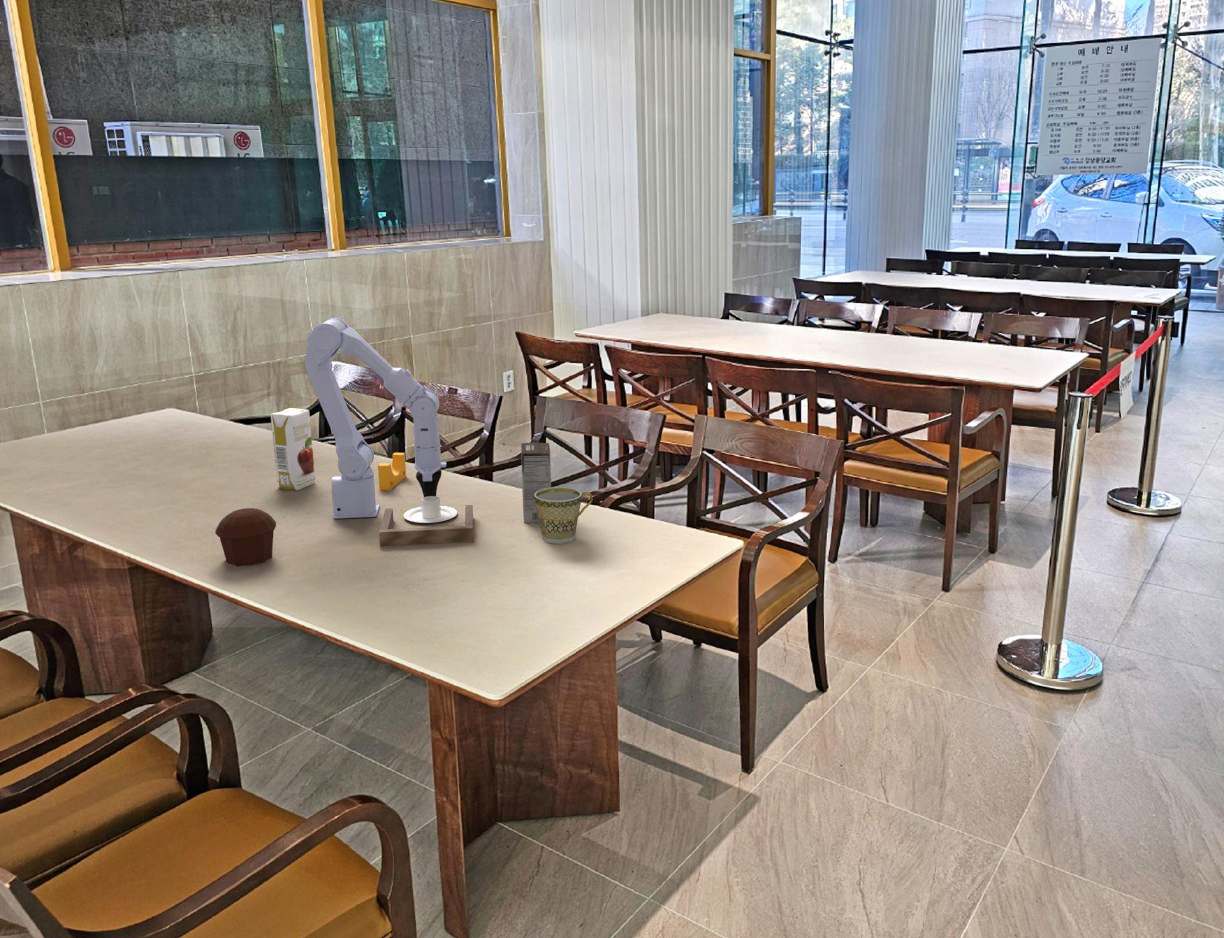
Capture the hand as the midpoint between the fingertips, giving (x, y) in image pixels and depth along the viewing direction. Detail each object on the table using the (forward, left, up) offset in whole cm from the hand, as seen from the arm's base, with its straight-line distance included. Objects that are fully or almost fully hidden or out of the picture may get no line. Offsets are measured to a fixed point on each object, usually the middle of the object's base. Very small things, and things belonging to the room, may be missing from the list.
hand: (430, 502), depth 225 cm
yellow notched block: (-11, +25, -3) cm, 27 cm away
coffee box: (+24, -7, -2) cm, 25 cm away
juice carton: (-34, +25, -2) cm, 43 cm away
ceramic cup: (+29, -22, -2) cm, 36 cm away
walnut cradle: (0, -13, -2) cm, 13 cm away
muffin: (-35, -25, -2) cm, 43 cm away
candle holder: (0, -3, -2) cm, 4 cm away
